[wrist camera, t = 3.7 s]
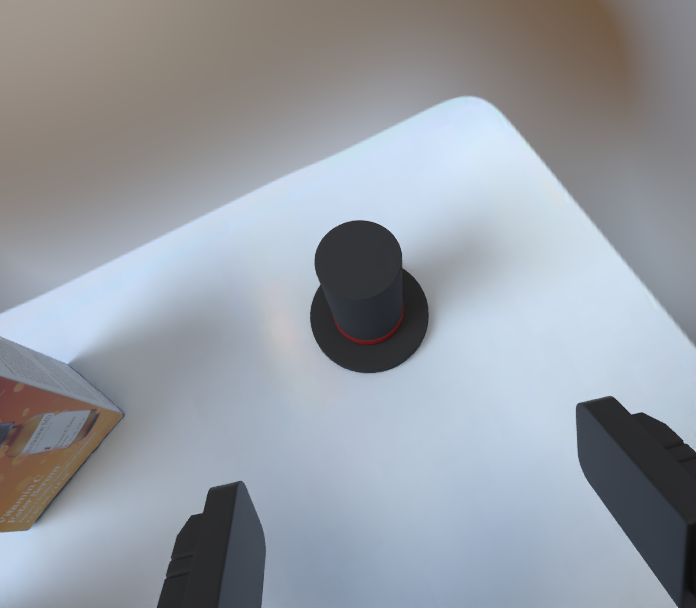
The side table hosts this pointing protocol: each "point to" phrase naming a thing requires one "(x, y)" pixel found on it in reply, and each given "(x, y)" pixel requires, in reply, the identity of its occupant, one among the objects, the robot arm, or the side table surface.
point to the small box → (43, 430)
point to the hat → (366, 299)
